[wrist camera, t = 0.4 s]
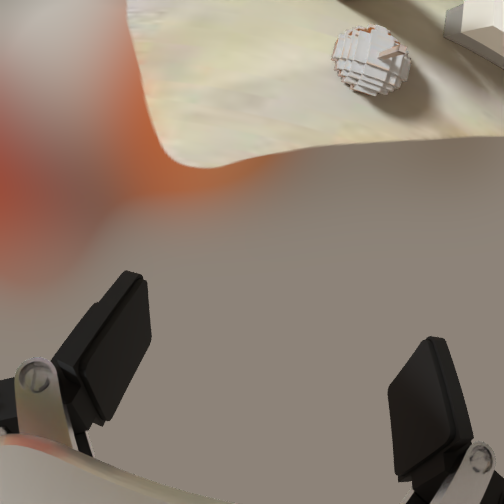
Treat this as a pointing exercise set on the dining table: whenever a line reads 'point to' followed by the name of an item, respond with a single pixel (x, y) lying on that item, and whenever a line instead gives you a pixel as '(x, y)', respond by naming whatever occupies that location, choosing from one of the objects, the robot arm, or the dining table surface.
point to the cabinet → (478, 28)
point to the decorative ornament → (371, 60)
